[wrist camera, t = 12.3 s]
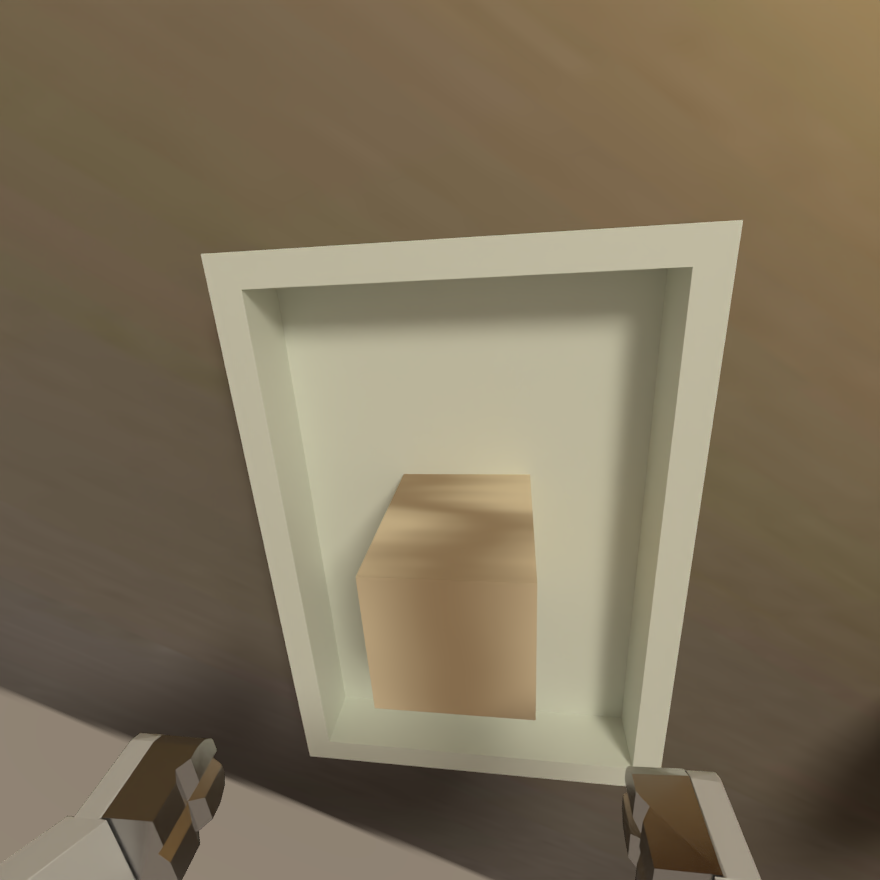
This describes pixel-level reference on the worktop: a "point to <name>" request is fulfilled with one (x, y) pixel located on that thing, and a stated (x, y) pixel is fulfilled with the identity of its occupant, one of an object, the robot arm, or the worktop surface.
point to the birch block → (453, 597)
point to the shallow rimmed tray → (487, 461)
